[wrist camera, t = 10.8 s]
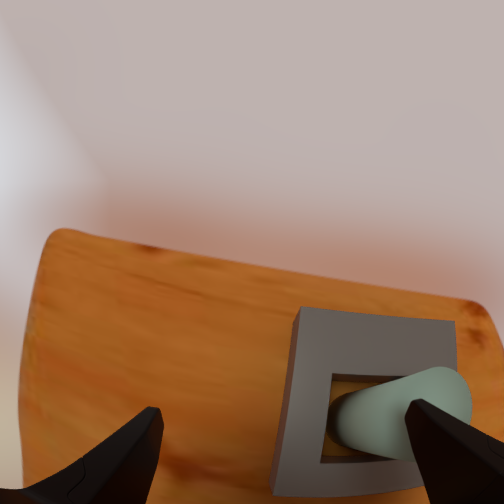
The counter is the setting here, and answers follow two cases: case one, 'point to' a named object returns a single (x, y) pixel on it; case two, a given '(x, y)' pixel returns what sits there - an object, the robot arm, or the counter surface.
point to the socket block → (353, 370)
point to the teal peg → (394, 411)
